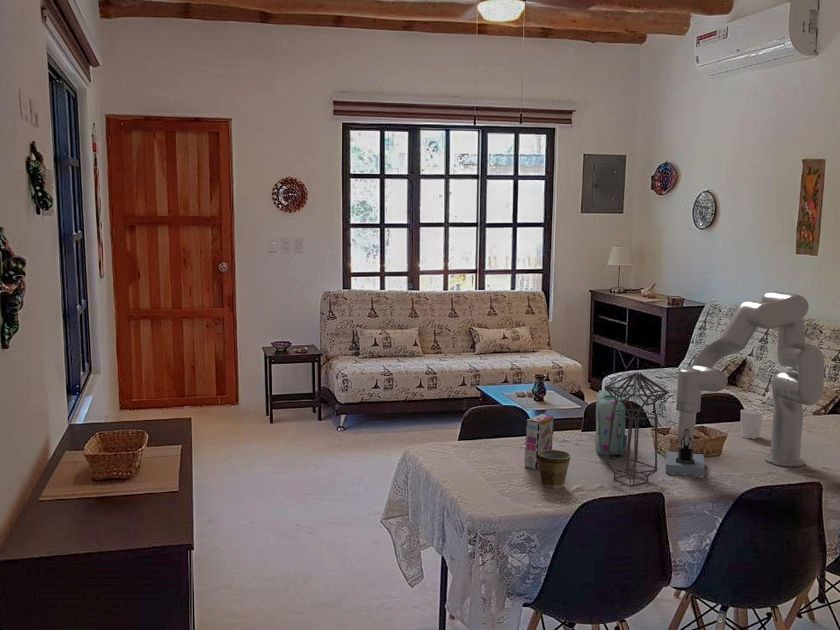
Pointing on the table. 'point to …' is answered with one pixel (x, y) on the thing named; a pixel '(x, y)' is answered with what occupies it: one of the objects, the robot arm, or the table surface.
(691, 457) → the block
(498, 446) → the table surface
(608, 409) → the lunch box
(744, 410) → the white cup
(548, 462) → the ceramic cup
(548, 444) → the candy bar box
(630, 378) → the geometric lantern
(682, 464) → the outlet plate
